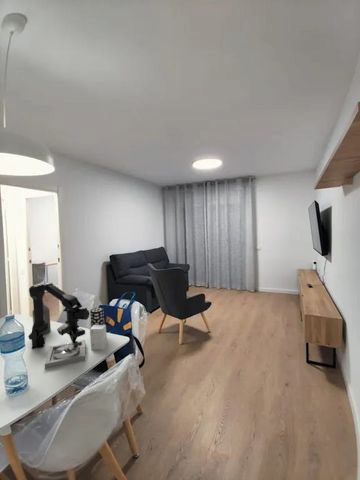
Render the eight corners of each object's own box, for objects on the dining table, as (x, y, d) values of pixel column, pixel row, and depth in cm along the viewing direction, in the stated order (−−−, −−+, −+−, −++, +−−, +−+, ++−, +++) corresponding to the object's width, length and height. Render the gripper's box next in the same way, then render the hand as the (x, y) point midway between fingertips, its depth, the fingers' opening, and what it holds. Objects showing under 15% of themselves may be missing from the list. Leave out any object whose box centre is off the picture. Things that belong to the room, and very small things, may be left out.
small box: (107, 344, 153) (106, 324, 152) (104, 349, 147) (102, 328, 146) (94, 344, 153) (93, 324, 152) (90, 349, 147) (89, 329, 146)
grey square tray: (44, 369, 128) (44, 363, 127) (50, 351, 146) (49, 345, 146) (85, 360, 135) (84, 355, 135) (85, 344, 153) (85, 339, 153)
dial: (60, 362, 131) (60, 355, 130) (49, 354, 139) (48, 347, 139) (84, 351, 142) (84, 344, 141) (72, 344, 150) (71, 337, 150)
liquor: (41, 329, 177) (38, 289, 175) (52, 329, 176) (49, 289, 174) (31, 335, 168) (28, 293, 166) (43, 335, 167) (40, 293, 165)
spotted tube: (97, 343, 154) (95, 313, 153) (89, 340, 159) (87, 310, 157) (107, 337, 161) (106, 308, 160) (99, 335, 166) (97, 306, 164)
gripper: (51, 318, 144) (53, 343, 146) (66, 326, 133) (67, 354, 134) (69, 313, 153) (71, 336, 154) (85, 320, 141) (86, 345, 142)
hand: (73, 343), depth 146 cm, fingers closed
